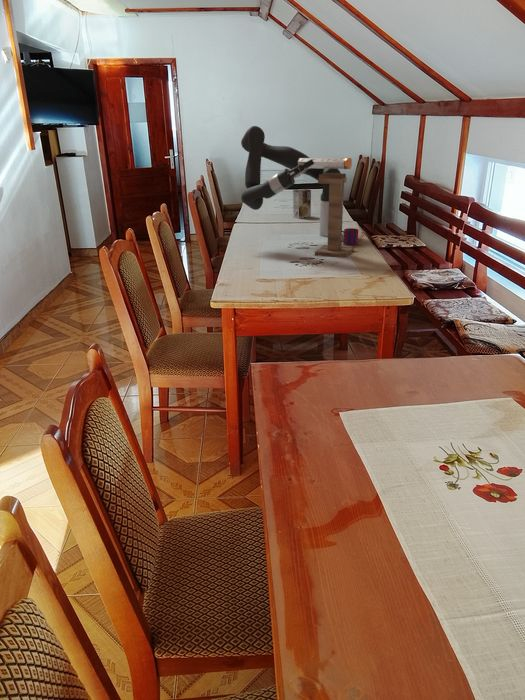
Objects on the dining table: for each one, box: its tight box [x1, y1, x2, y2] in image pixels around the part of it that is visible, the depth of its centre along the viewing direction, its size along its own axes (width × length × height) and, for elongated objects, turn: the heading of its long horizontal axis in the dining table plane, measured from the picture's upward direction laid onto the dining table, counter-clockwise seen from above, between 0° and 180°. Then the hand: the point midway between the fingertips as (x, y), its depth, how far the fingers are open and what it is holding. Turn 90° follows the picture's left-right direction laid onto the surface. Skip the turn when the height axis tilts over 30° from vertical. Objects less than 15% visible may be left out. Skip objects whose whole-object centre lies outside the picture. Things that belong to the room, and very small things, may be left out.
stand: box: [314, 173, 354, 258], centre depth 232 cm, size 14×14×34 cm
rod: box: [298, 157, 353, 170], centre depth 226 cm, size 4×22×4 cm, turn 68°
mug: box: [342, 227, 359, 246], centre depth 254 cm, size 7×10×7 cm
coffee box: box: [292, 188, 312, 219], centre depth 324 cm, size 9×6×16 cm
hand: (314, 161), depth 227 cm, fingers closed on rod, 4 cm apart
